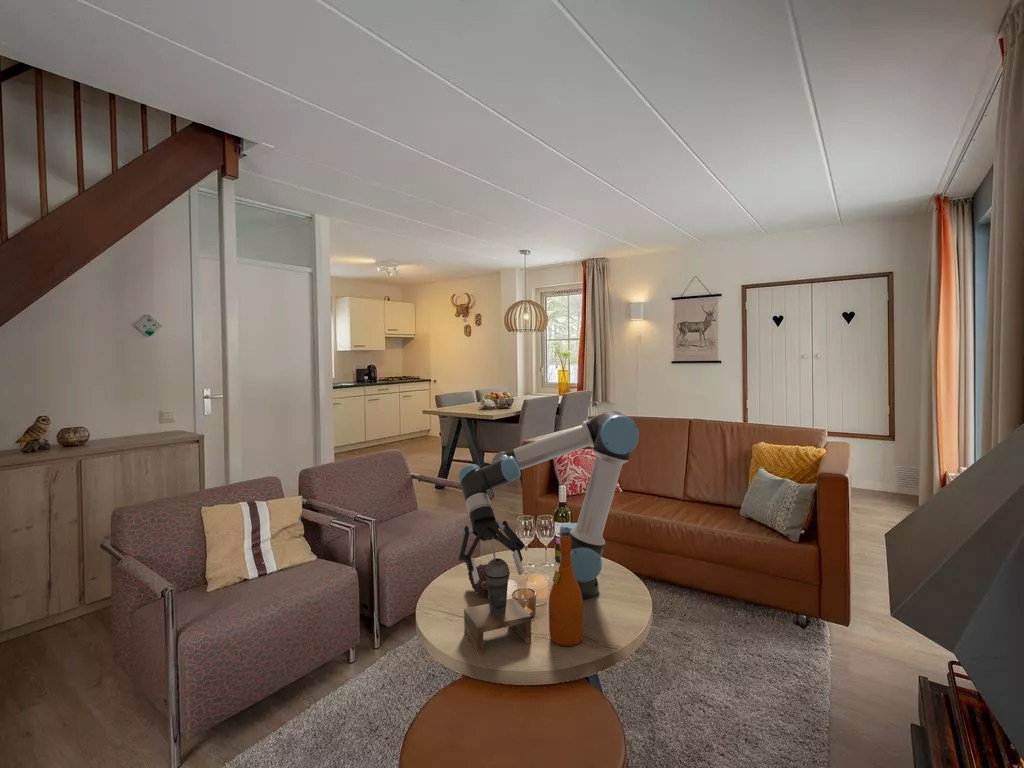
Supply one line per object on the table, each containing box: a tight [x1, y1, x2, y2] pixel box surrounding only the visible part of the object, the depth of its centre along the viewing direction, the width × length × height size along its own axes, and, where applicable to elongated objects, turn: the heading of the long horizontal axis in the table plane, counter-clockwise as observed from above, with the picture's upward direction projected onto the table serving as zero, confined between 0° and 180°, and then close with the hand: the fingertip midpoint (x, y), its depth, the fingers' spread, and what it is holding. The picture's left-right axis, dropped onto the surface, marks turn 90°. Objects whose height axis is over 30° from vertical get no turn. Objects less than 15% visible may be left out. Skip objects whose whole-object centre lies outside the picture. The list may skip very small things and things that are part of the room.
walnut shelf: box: [463, 598, 532, 655], centre depth 148 cm, size 16×12×8 cm
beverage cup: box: [485, 543, 511, 616], centre depth 148 cm, size 7×7×20 cm
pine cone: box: [467, 563, 488, 597], centre depth 176 cm, size 18×10×10 cm, turn 37°
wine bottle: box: [548, 536, 584, 647], centre depth 147 cm, size 10×10×30 cm
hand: (499, 577), depth 145 cm, fingers open, 13 cm apart
